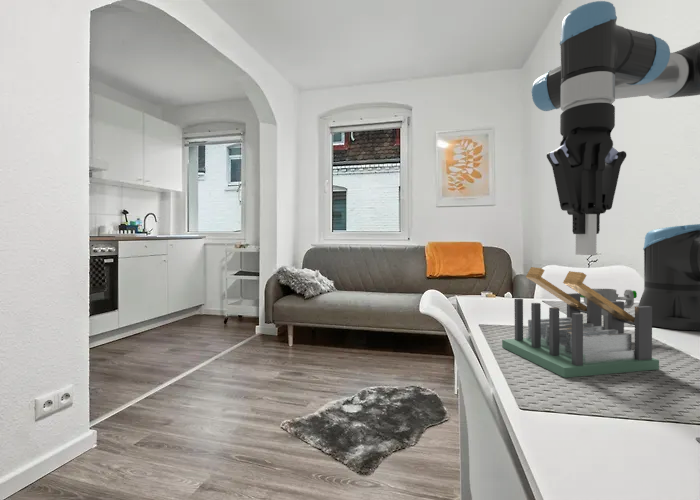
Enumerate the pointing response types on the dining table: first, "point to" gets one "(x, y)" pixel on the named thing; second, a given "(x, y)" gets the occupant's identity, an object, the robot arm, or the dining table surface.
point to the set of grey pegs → (593, 316)
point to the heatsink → (589, 341)
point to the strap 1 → (554, 289)
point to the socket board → (564, 363)
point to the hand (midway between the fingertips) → (585, 254)
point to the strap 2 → (596, 297)
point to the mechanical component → (612, 296)
